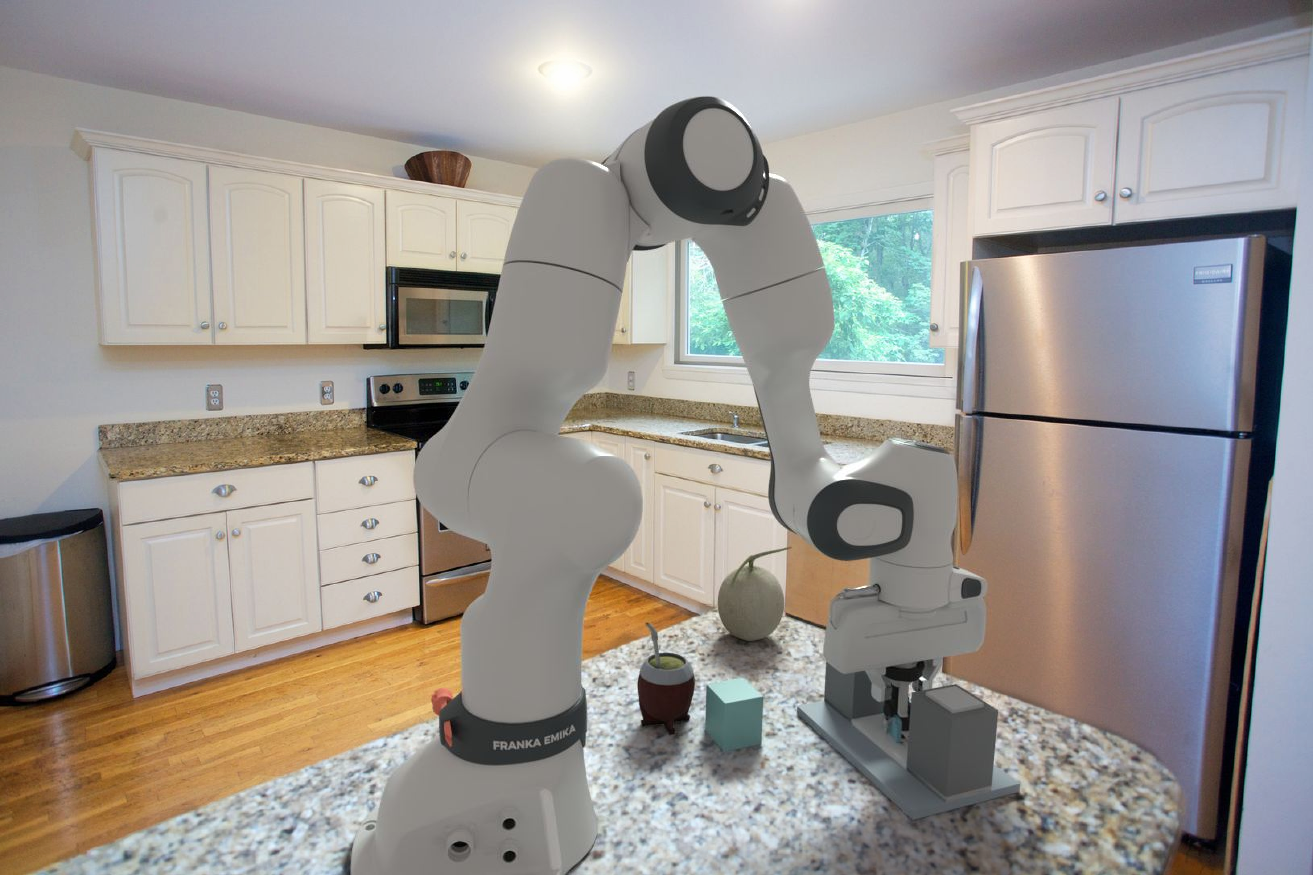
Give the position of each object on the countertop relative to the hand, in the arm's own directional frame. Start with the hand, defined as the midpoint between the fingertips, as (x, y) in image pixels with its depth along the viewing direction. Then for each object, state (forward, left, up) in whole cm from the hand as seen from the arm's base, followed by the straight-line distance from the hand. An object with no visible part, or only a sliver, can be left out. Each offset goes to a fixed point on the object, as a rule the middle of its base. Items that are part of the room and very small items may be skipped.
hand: (901, 695), depth 85 cm
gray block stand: (0, 0, -7) cm, 7 cm away
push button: (0, 0, -5) cm, 5 cm away
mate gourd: (-24, +14, -7) cm, 29 cm away
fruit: (-2, +34, -7) cm, 35 cm away
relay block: (-17, +9, -1) cm, 19 cm away
